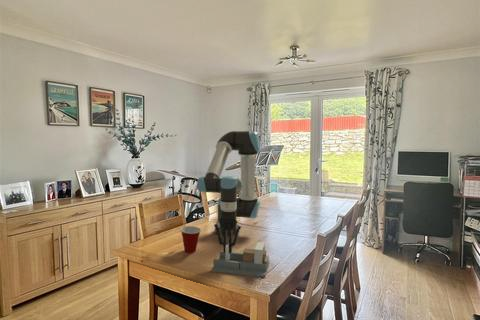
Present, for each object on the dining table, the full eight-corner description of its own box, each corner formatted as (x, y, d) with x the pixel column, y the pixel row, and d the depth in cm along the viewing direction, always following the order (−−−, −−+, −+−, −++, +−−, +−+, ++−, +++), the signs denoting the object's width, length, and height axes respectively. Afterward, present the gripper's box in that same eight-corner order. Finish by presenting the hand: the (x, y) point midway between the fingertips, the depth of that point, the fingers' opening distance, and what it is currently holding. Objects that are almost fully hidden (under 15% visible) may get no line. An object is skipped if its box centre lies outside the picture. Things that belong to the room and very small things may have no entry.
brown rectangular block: (244, 262, 136) (245, 248, 136) (265, 264, 134) (266, 250, 134) (242, 267, 131) (242, 252, 131) (264, 269, 129) (264, 254, 129)
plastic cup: (195, 256, 146) (195, 232, 145) (176, 253, 149) (176, 230, 148) (204, 248, 156) (204, 227, 155) (186, 246, 159) (186, 224, 159)
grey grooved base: (221, 257, 145) (221, 236, 144) (269, 262, 140) (269, 241, 139) (211, 271, 129) (212, 248, 128) (265, 277, 124) (265, 253, 123)
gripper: (212, 210, 132) (211, 261, 133) (240, 212, 129) (239, 264, 131) (217, 207, 139) (216, 255, 141) (243, 209, 137) (242, 257, 138)
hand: (227, 259), depth 136 cm, fingers closed
